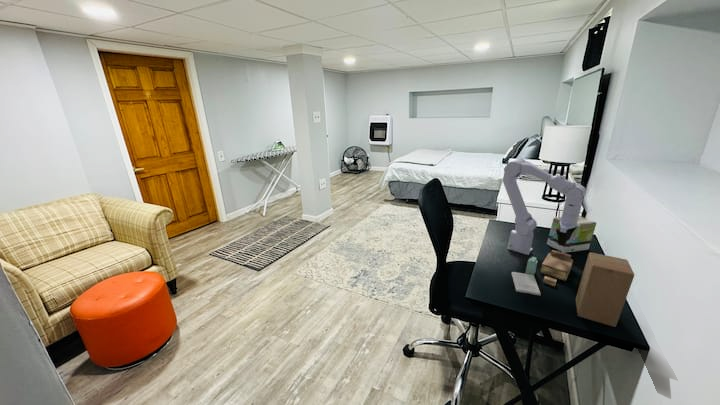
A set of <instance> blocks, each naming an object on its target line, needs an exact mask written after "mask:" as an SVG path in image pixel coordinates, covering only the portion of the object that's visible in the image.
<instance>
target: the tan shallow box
mask: <svg viewBox="0 0 720 405" xmlns="http://www.w3.org/2000/svg"><path fill="white" fill-rule="evenodd" d="M573 262H574V261H573ZM573 262H572V265H571V267H570V269H569V272H568V273H565V272H562V271H559V270H556V269H552V268H549V267H546V266H543V265H542V264H541V268H540V271H539V272H540V274H544V277H543V281H542V283H543V284H547V285H549V286H552V287H556V284H557V279H559V280H561V281H564V282H566V281H567V279H568V276H569V274H570V271H571V270H572V266H573Z"/></svg>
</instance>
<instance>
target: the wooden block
mask: <svg viewBox="0 0 720 405" xmlns="http://www.w3.org/2000/svg"><path fill="white" fill-rule="evenodd" d="M629 262H630V261H629V260H628V259H625V258H620V257H616V256H615V257H614V256H610V255H605V254H600V253H596V252H590V251H589V253H588V254H587V258H586V262H585V264H584V269H583V272H582V276H581V280H580V282H579V286H578V290H577V293H576V297H575V306H576V313H577V316H578V317H579V318H583V319H586V320H590V321H593V322H596V323H600V324H603V325H606V326H610V327H613V328H616V327H617V324H618V322H619V319H620V317H621V315H622V314H621V313H622V310H623V309H624V308H623V307H624V305H625V303H626V301H627V297H628V295H629V292H630V288H631V287H632V283H633V281H634V277H635V273H634V271H633V269H632V267H631V265H630V263H629Z"/></svg>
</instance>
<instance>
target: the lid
mask: <svg viewBox="0 0 720 405" xmlns="http://www.w3.org/2000/svg"><path fill="white" fill-rule="evenodd" d="M571 257H572V255H571V254H568V253H562V252H560V251H558V250H553V249H552V250H551V251H550V252H548V253H547V255H546V257H545V259H544V260H543V262H542V263H541V266H542V265H543V266H546V267H549V268H552V269H556V270H559V271H562V272H565V273H568V272H569V269H570V267H571V265H572V266H573V263H572V262H574V260H573V259H572V258H571ZM571 268H572V267H571ZM569 273H570V272H569Z"/></svg>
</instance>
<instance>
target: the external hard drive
mask: <svg viewBox="0 0 720 405" xmlns="http://www.w3.org/2000/svg"><path fill="white" fill-rule="evenodd" d="M511 276H512V280H513V285H514V289H515V292H517V293H523V294H530V295H534V296H541V290H540V289H539V286H538V283H537V280H536V278H535V274H534V275H530V274H526V273H525V272H524V273H522V272H516V271H511Z"/></svg>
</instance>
